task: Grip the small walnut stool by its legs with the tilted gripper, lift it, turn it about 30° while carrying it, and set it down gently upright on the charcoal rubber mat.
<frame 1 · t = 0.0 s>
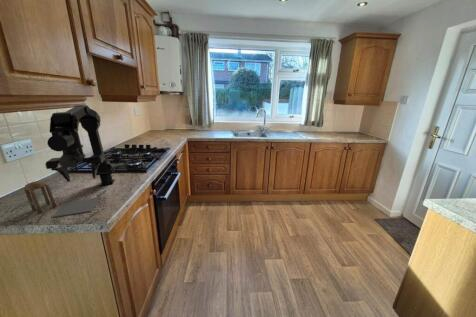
hand: (82, 180, 86), 14 cm above the countertop, tool pointing down, fingers open, 9 cm apart
stool: (44, 208, 92), on the countertop
mat: (78, 207, 93), on the countertop
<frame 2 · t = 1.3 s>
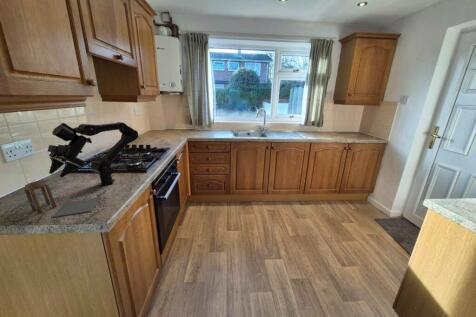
hand: (55, 175, 94), 13 cm above the countertop, tool tilted 45°, fingers open, 9 cm apart
nothing on the countertop moved.
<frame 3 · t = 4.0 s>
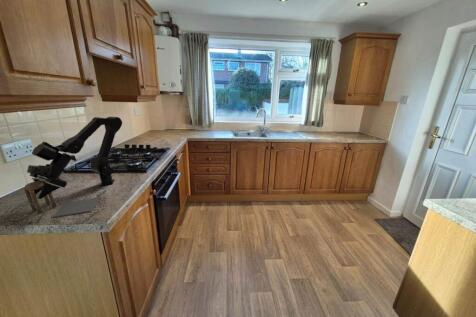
hand: (35, 197, 88), 7 cm above the countertop, tool tilted 45°, fingers closed on stool, 6 cm apart
stool: (44, 208, 92), on the countertop, touching gripper
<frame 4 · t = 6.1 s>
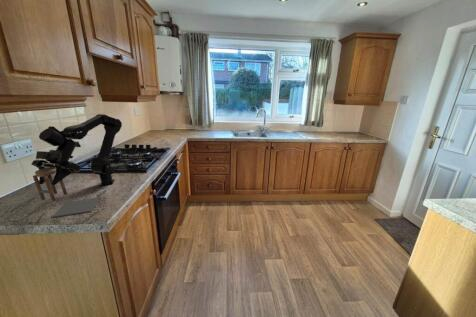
hand: (46, 184, 85), 13 cm above the countertop, tool tilted 45°, fingers closed on stool, 6 cm apart
stool: (54, 196, 88), point 7 cm above the countertop, touching gripper
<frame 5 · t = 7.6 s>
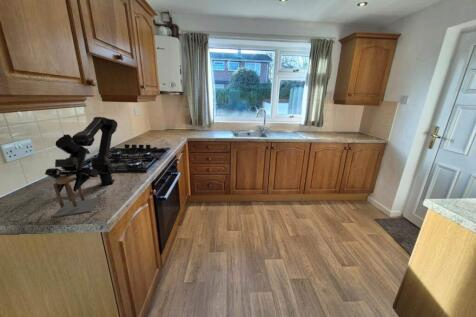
hand: (66, 191, 86), 10 cm above the countertop, tool tilted 45°, fingers closed on stool, 6 cm apart
stool: (73, 203, 90), point 3 cm above the countertop, touching gripper
when the fingers open (8 cm above the countertop, at t = 8.5 s): stool stays where it is, resting on mat.
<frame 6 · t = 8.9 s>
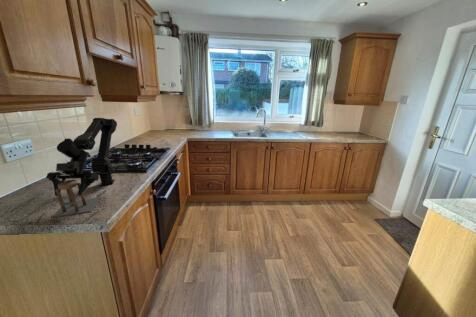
hand: (67, 195, 87), 8 cm above the countertop, tool tilted 45°, fingers open, 9 cm apart
stool: (75, 208, 91), point 1 cm above the countertop, touching mat
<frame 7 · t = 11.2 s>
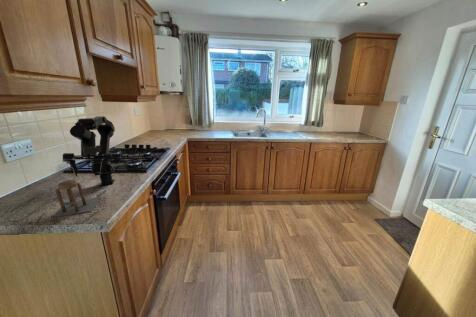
hand: (89, 175, 95), 13 cm above the countertop, tool tilted 30°, fingers open, 9 cm apart
nothing on the countertop moved.
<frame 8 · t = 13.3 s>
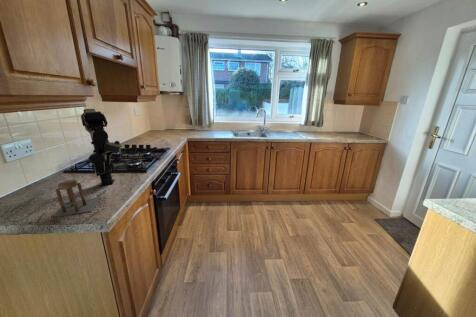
hand: (106, 168, 102), 13 cm above the countertop, tool pointing down, fingers open, 9 cm apart
nothing on the countertop moved.
at the end: stool inside the target area (0.2 cm from its centre), point 0.5 cm above the countertop; stool tilted 0°; the gripper is holding nothing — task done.
